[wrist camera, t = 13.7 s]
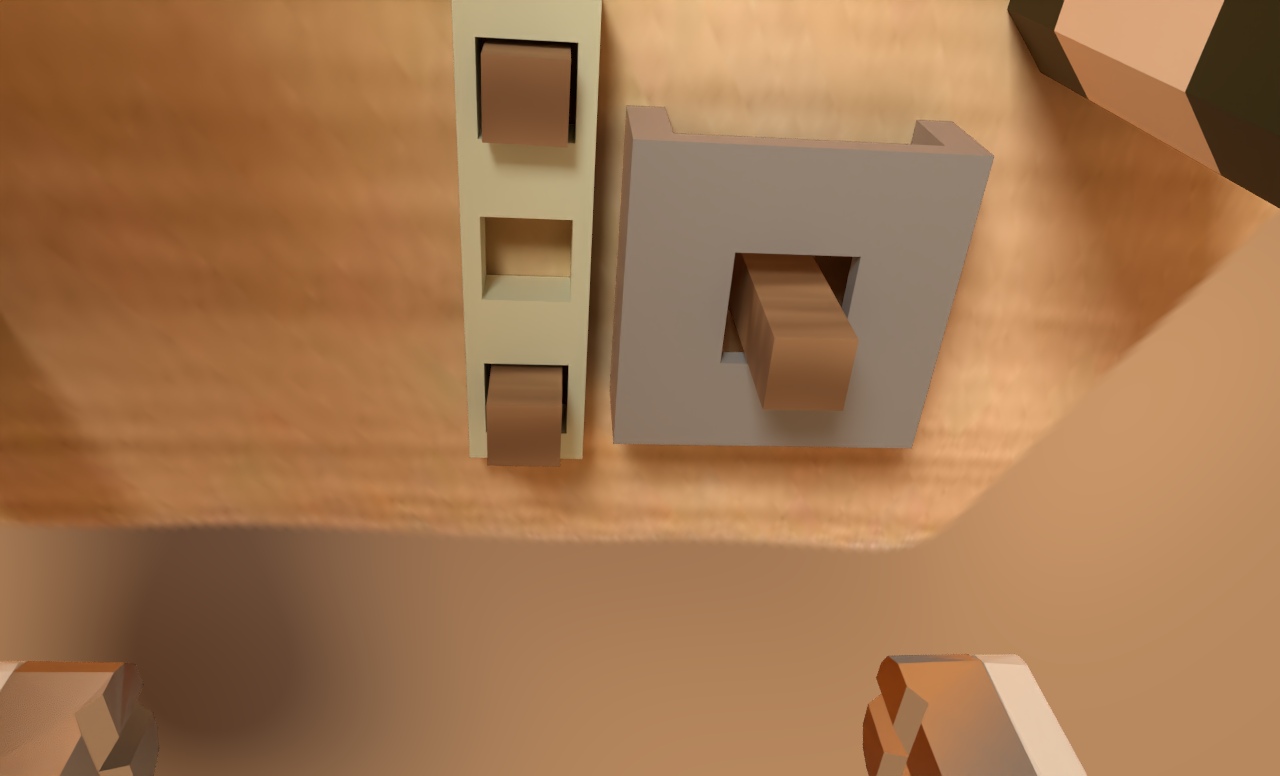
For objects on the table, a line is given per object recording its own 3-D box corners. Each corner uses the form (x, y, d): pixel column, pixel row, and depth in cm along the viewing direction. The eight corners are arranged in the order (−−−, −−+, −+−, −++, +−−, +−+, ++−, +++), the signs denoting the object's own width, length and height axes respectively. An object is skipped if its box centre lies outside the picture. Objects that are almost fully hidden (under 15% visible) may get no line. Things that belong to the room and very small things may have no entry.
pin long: (736, 240, 41) (774, 338, 34) (805, 242, 42) (858, 340, 34) (728, 303, 43) (762, 409, 35) (794, 304, 43) (843, 411, 36)
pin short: (488, 30, 36) (480, 53, 32) (570, 36, 36) (570, 59, 33) (489, 112, 37) (481, 142, 34) (567, 117, 38) (567, 147, 34)
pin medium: (494, 341, 43) (486, 405, 39) (562, 343, 44) (562, 406, 39) (495, 397, 45) (487, 465, 40) (560, 398, 45) (560, 466, 41)
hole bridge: (626, 105, 38) (633, 139, 34) (952, 121, 39) (994, 156, 35) (609, 390, 45) (613, 443, 41) (883, 395, 46) (911, 448, 43)
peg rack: (458, -20, 35) (450, -9, 33) (599, -12, 35) (601, 0, 33) (473, 427, 46) (469, 457, 44) (581, 429, 46) (582, 459, 44)
